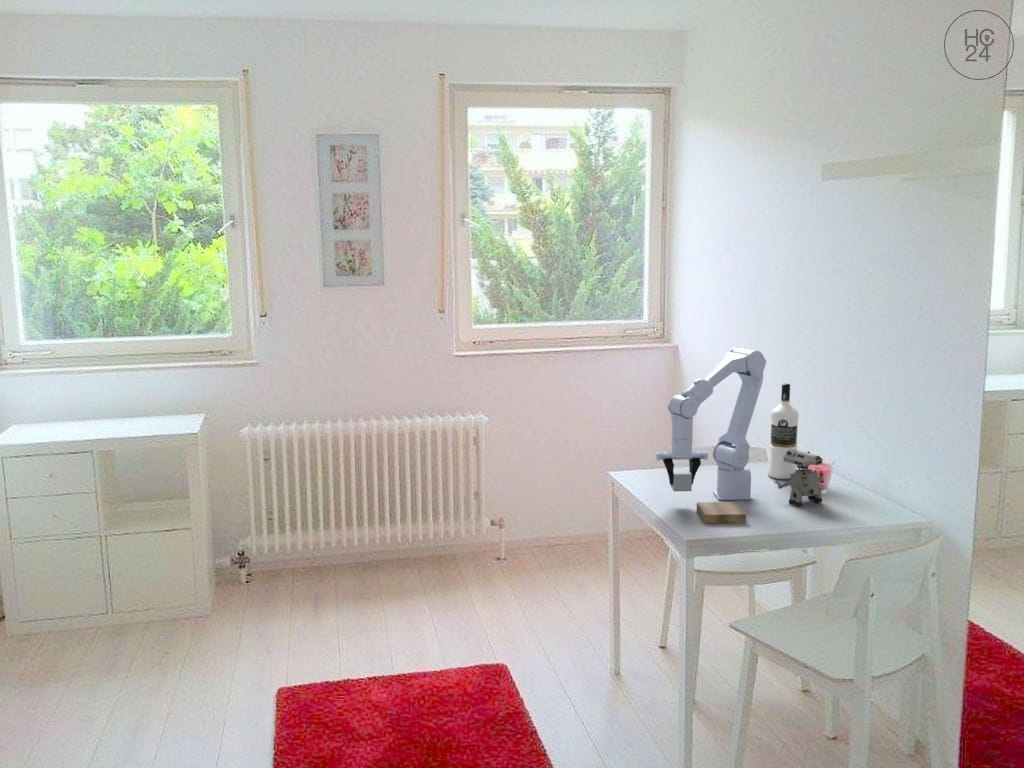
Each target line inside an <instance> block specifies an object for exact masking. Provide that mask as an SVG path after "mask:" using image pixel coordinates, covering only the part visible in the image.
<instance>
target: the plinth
mask: <svg viewBox="0 0 1024 768" xmlns="http://www.w3.org/2000/svg"><path fill="white" fill-rule="evenodd" d="M696 513H697V514H698V515H699V517H700V518H701V520H702V521H703V523H704V524H705V523H706V524H707V523H711V525H712V523H717V524H746V521H747V513H746V512H745V511H744V510H743V508H741V506H740V505H739V504H738V503H737V502H736V501H723V502H722V501H721V502H720V501H719V502H718V501H715V502H712V501H711V502H708V501H705V502H703V501H702V502H701V501H700V502H699V501H698V502H697V501H696ZM707 525H708V524H707Z"/></svg>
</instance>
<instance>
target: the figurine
mask: <svg viewBox="0 0 1024 768" xmlns="http://www.w3.org/2000/svg"><path fill="white" fill-rule="evenodd" d="M783 461H785V462H788V463H792V464H796V465H797V470H795V472H792V473H790V476H791V478H790V479H789V480H788V481H786V482H784V483H780V482H779V481H778V479H775V481H774V483H775V484H777V485H778V489H783V488H786V487H788V486H791V487H790V488H791V490H790V496H789V499H788V503H789V505H792V506H795V507H797V508H801V507H803V506H804V503H803V497H807V499H808V500H809V501H812V502H815V503H817V504H819V503H822V502H823V498H822V488H821V486H820V483H821V484H824V483H825V480H824V471H823V470H822V469H821V468H820V467H817V468H815V470H813V469H810V468H809V466H811V465H813V466H819V465H822V464H823V461H824V460H823V458H822V457H821V456H820V455H817V454H813V453H811V451H810V450H809V451H807V452H805V451H801V450H794V449H789V450H787V452H786V453H785V455H784V457H783ZM817 470H820V471H819V474H818V471H817Z"/></svg>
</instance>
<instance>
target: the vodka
mask: <svg viewBox="0 0 1024 768" xmlns="http://www.w3.org/2000/svg"><path fill="white" fill-rule="evenodd" d="M790 399H791V384H790V383H782V384H781V397H780V404H778V405H777V406H775V407H774V408H773V409H772V410H771V412H770V419H771V420H770V423H771V427H770V443H769V461H768V466H767V468H766V473H767V476H768V477H770V478H773V479H775V478H776V479H777V480H781V479H789V480H791V479H790V478H791V476H790V473H792V472H795V470H798V468H797V465H796V464H792V463H788V462H785V461H783V457H784V455H785V453H786V452H787V450H789V449H794V450H797V449H798V445H797V443H798V426H799V425H798V424H799V416H800V415H799V411H798V410H797V409H796V408H795V407H794V406H792V405H791V403H790V401H791V400H790ZM776 479H775V480H776Z"/></svg>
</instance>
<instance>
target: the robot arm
mask: <svg viewBox="0 0 1024 768" xmlns="http://www.w3.org/2000/svg"><path fill="white" fill-rule="evenodd" d="M766 365H767V360H766V358H765V356H764V353H762V352H761V351H760V350H752V349H747V348H742V347H738V346H736V347H732V348H731V349H730V350H729V352H728V351H727V353H725V354H724V359H723V360H721V362H720V363H718V365H717V366H715V368H714V369H713V370H712V371H711V372H710V373H709V374H708V375H707V376H706V377H705V378H698V379H697V378H696V379H694V380H693V382H692V384H691V385H690V386H689V387H688V388H687V389H685V390H683V391H682V392H681V394H678V395H677V394H676V395H674V396H673V397H672V398H671V399H670V401H669V404H668V405H667V408H668V411H669V413H670V415H671V416H670V418H671V450H669V451H668V450H667V451H660V452H658V451H655V459H656V461H662V462H663V464H664V467H665V469H666V471H667V475H668V481H669V485H670V486H671V485H673V470H675V469H674V467H675V464H674V460H678V461H679V460H688V461H689V462H688V465H689V467H688V468H689V471H690V472H691V474H692V486H693V484H694V480H695V476H696V473H697V472H698V469H699V468H700V466H701V464H702V461H701V460H705V461H708V459H709V453H708V452H707V451H701V450H693V423H694V421H693V420H694V416H696V415H697V412H698V409H699V408H700V406H701V404H702V403H704V402H705V401H706V400H707V399H708V398H709V397H711V396H712V395H713V393H714V388H715V387H716V386H718V385H719V383H721V382H722V381H724V380H725V379H726V378H728V377H729V376H730V375H732V374H733V373H736V374H737V375H738V376H739V378H740V380H741V382H742V383H741V385H740V389H739V393H738V396H737V400H736V402H735V406H734V409H733V411H732V415H731V418H730V421H729V426H728V428H727V432H726V433H724V434H723V435H721V436H720V437H719V438H718V441H717V443H716V444H715V446H714V447H713V450H712V458H713V460H714V461H715V462H716V466H717V478H716V479H717V480H716V490H713V491H712V493H713V494H714V495H715V497H716V498H717V499H718V500H720V501H723V500H724V501H726V500H727V501H731V500H732V501H734V500H735V501H737V500H740V501H743V500H744V501H746V500H748V501H749V500H752V497H751V491H752V490H751V489H752V474H751V469H750V467H747V464H748V463H749V459H750V455H749V452H750V449H751V446H750V443H748V441H747V439H746V437H747V434H748V431H749V427H750V424H751V420H752V418H753V415H754V411H755V409H756V405H757V401H758V398H759V395H760V393H761V389H762V385H763V382H764V370H765V368H766Z"/></svg>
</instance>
